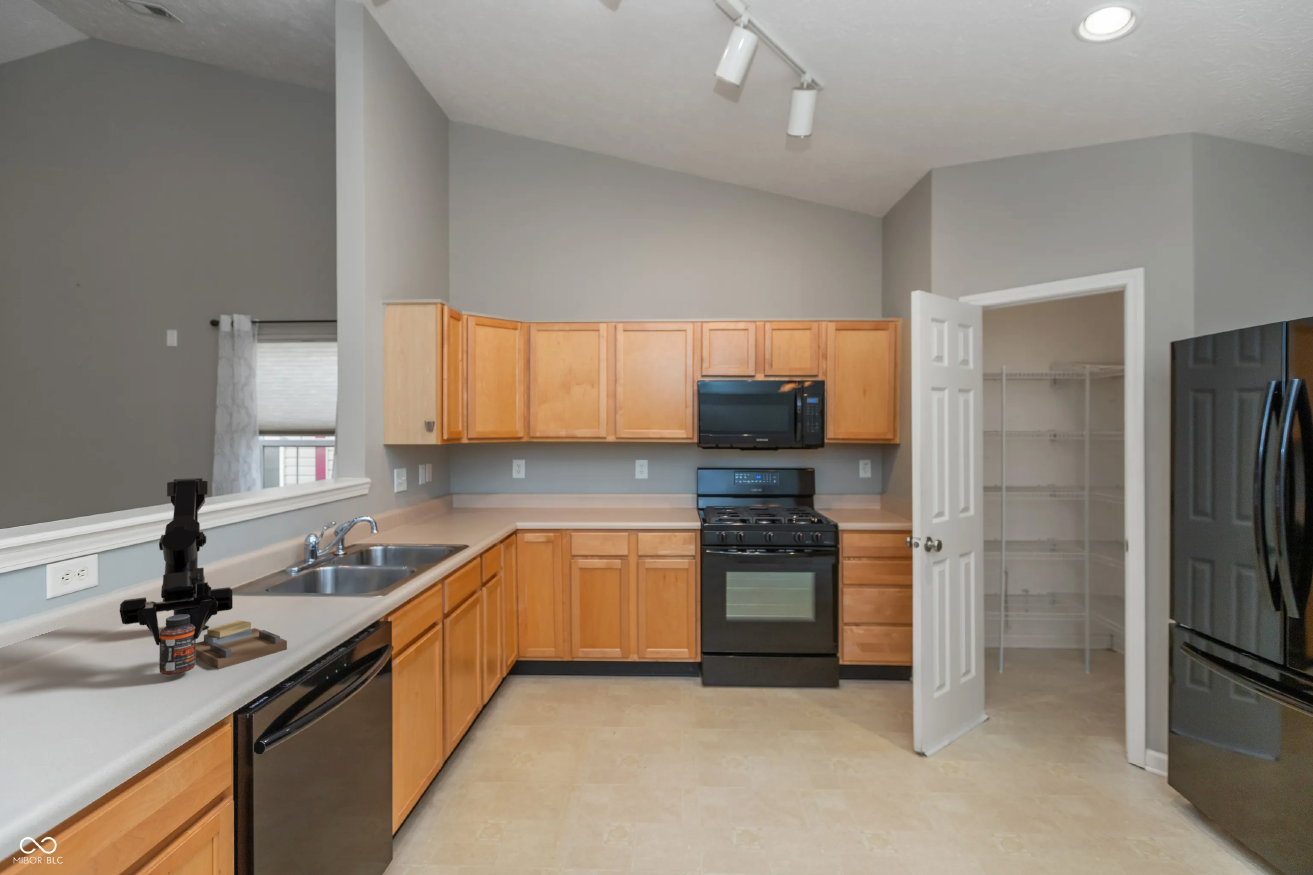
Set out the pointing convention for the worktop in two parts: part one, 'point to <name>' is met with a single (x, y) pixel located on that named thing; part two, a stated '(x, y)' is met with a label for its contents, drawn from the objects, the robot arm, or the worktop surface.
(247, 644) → the shelf board
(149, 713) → the worktop surface
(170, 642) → the supplement bottle
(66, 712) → the worktop surface
